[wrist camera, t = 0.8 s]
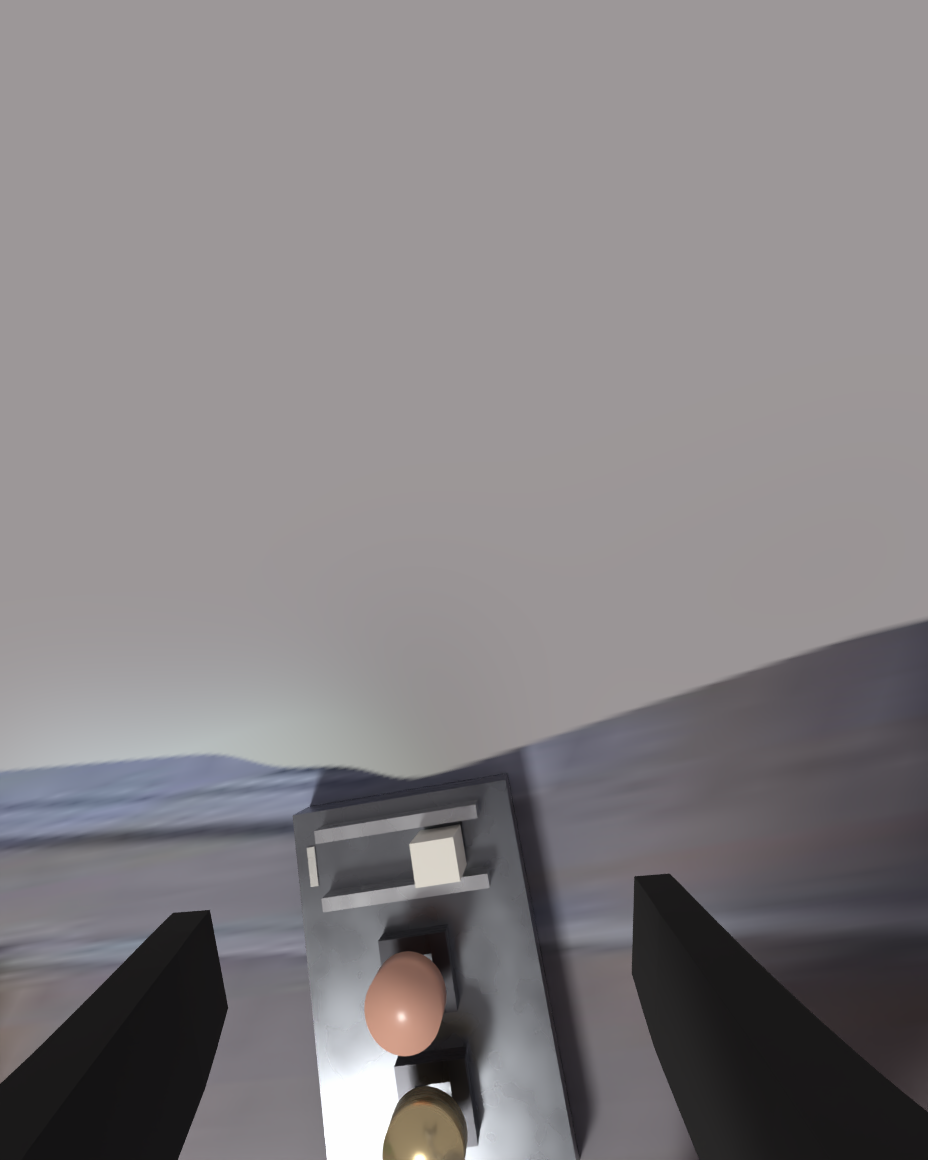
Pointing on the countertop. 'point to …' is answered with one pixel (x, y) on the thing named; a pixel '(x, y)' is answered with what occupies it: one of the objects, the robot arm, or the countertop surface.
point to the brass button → (426, 1127)
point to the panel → (461, 953)
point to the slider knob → (438, 856)
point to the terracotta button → (405, 1003)
